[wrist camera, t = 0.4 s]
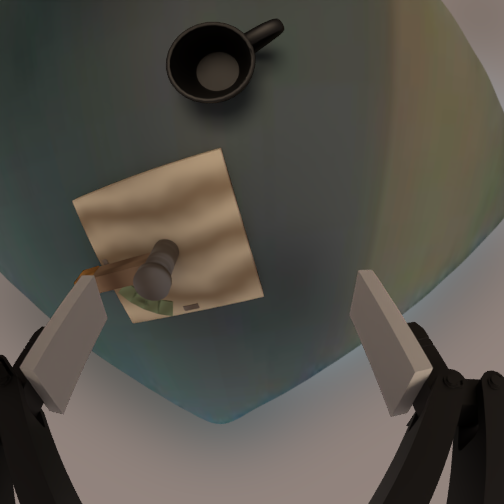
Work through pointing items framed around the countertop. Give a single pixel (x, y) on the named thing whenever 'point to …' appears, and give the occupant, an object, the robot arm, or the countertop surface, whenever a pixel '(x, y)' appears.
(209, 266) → the dial board
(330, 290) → the countertop surface
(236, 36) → the mug
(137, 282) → the peg lever
